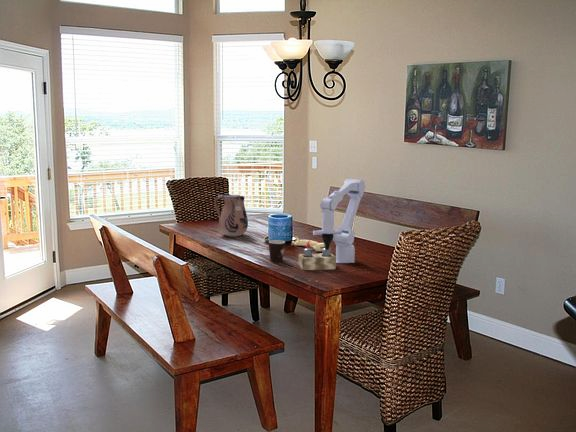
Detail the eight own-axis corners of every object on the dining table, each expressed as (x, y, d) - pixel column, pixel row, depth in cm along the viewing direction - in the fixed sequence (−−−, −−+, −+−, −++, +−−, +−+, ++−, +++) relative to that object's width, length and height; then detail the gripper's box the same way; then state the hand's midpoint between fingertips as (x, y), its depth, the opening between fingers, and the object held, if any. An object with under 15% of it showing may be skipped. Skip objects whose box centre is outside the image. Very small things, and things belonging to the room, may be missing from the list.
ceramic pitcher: (246, 238, 357) (247, 198, 353) (211, 237, 358) (212, 197, 353) (248, 233, 375) (249, 194, 370) (215, 232, 375) (216, 193, 371)
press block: (330, 264, 302) (331, 253, 301) (335, 269, 294) (336, 257, 293) (298, 265, 299) (298, 253, 298) (302, 270, 290) (302, 258, 289)
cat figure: (288, 248, 342) (319, 253, 324) (288, 233, 341) (319, 237, 323) (300, 246, 349) (332, 250, 331) (300, 231, 348) (331, 235, 330)
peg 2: (329, 258, 299) (329, 247, 298) (331, 260, 295) (332, 249, 294) (321, 258, 298) (321, 247, 297) (323, 260, 294) (323, 249, 293)
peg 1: (311, 258, 297) (311, 248, 296) (313, 260, 293) (313, 250, 292) (302, 259, 296) (303, 248, 295) (304, 261, 292) (305, 250, 291)
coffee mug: (274, 263, 301) (274, 244, 300) (264, 259, 308) (265, 241, 307) (292, 260, 308) (293, 242, 307) (283, 257, 315) (283, 238, 313)
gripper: (315, 223, 288) (314, 250, 290) (344, 223, 291) (343, 250, 293) (312, 221, 295) (311, 247, 297) (340, 220, 298) (338, 247, 300)
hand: (326, 248), depth 296 cm, fingers closed, pressing on peg 2
